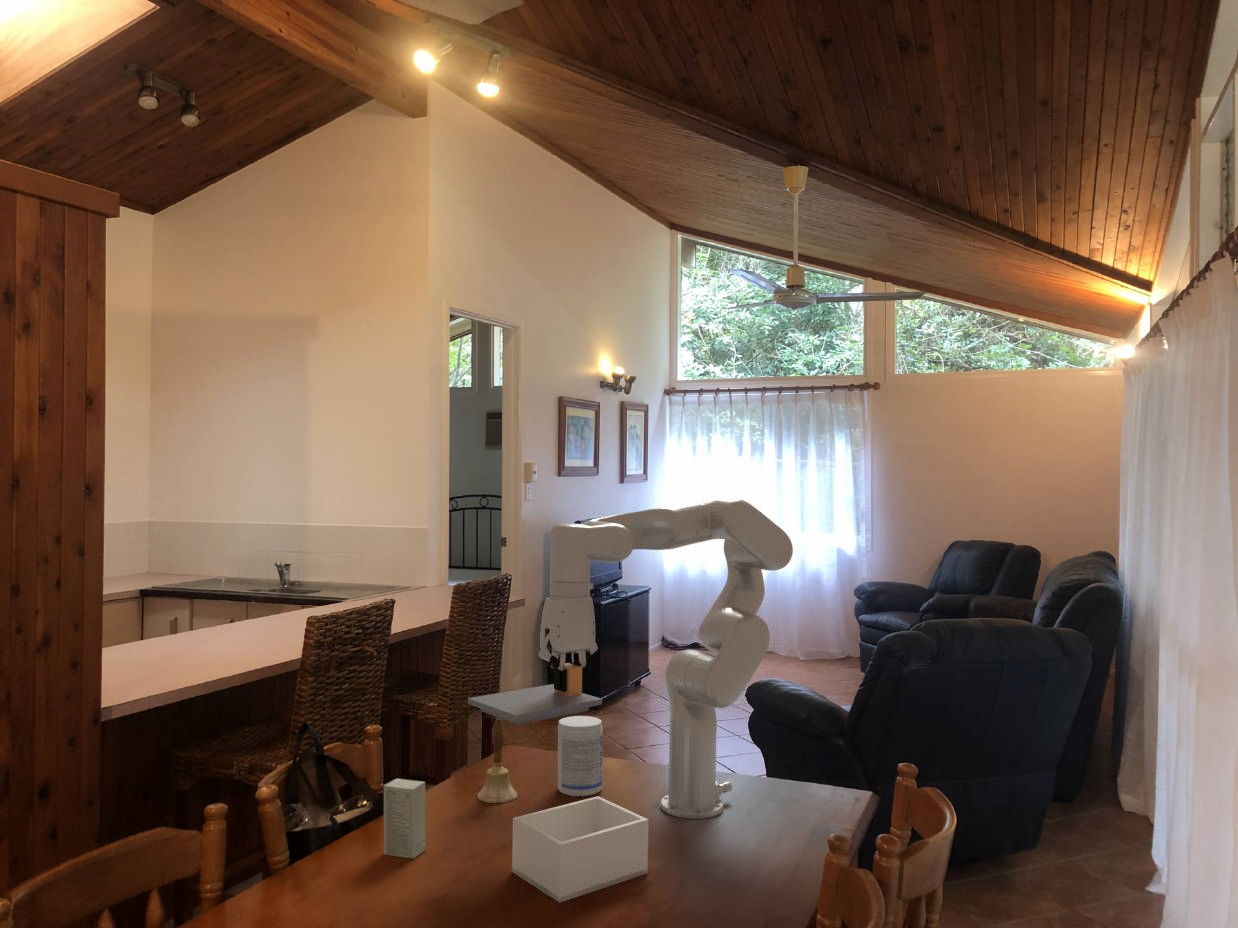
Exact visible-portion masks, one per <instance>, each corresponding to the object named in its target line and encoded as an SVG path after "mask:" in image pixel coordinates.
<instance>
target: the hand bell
mask: <svg viewBox="0 0 1238 928" xmlns="http://www.w3.org/2000/svg"><path fill="white" fill-rule="evenodd" d="M491 739H492V745H493V763H492V764H493V765H492V767H490V768H489V769H487V770H486V776H485V781H484V783H483V784H484V785H483V787H482V788H481V790H480V791H479V792H478V794H477V795H476V798H477V799H478V800H479V801H481V802H484V803H490V804H501V803H502V804H503V803H508V802H511V801H514V800H515V799H516V798H518V793H517V791H516V790H515V789H514V788H513V786H512V784H511V781H510V777H509V770H508V769H507V768H505V767H504V766H503V764H502V757H503V756H502V754H503V753H502V750H503V745H504V742H505V727H504V724H503V719H501V718H498V717H497V718H495V719H494V724H493V727H492V731H491Z"/></svg>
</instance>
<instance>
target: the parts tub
mask: <svg viewBox="0 0 1238 928" xmlns="http://www.w3.org/2000/svg"><path fill="white" fill-rule="evenodd" d="M511 847H512V853H511V854H512V855H511V859H512V860H511V872H512V873H513V874H515V876H516V875H517V876H518V877H519V878H520V879H522V880H524V881H525V882H527V883H528V884H530V885H531V886H533V887H534V888H536V889H537V890H539V891H541V892H543V893H544V894H546V895H547V896H548V897H550V898H552V899H553V900H555V901H557V902H558V903H559V904H560V903H564V902H566V901H569V900H571V899H572V900H573V899H574V898H578V897H580V896H583V895H587V894H591V893H593V892H596V891H599V890H602V889H604V888H607V887H611V886H614V885H617V884H620V883H623V882H626V881H628V880H632V879H635V878H638V877H641V876H643V875H647V874H648V873H649V871H648V870H649V868H648V866H649V819H648V818H647V817H644V816H641V815H640V814H638V813H635V812H633V811H630V810H629V809H627V808H624V807H622V806H620V805H618V804H616V803H614V802H611V801H609V800H608V799H605V798H603V797H601V796H595V797H594V796H592V797H590V798H586V799H582V800H581V799H580V800H578V801H573V802H570V803H567V804H563V805H558V806H555V807H550V808H547V809H546V808H545V809H542V810H540V811H535V812H532V813H531V812H529V813H527V814H523V815H520V816H515V817H513V818H512V846H511Z"/></svg>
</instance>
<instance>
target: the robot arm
mask: <svg viewBox="0 0 1238 928" xmlns="http://www.w3.org/2000/svg"><path fill="white" fill-rule="evenodd" d="M717 539H718V540H724V541H723V552H724V556H725V562H726V567H727V578H726V582H725V584H724V586H723V587H722V590H721V592H720V594H719V595H718V596H717V598H716V599H715V601H714V603H713V604H712V606H711V608H710V609H709V610H708V612H707V613H706V615H705V616H704V619H703V620H702V621H701V624H700V626H699V629H698V639H699V642H700V644H701V645H702V646H703V647H704V648H705V649H707V650H708V651H711V652H713V653H715V654H716V655H713V654H710V653H707V652H704V651H700V650H695V649H683V650H680V651H678V652H677V653H675V654H674V655H672V657H671V658H670V660H669V661H668V662H667V664H666V670H665V683H666V691H667V697H668V704H669V705H668V706H669V730H668V731H669V733H668V734H669V738H668V739H669V742H668V743H669V745H668V749H669V750H668V794H667V795H665V796H663V797H662V798H661V800H660V808H661V810H662V811H663V812H665V813H666V814H669V815H671V816H673V817H677V818H683V819H693V820H695V819H697V820H700V819H708V818H713V817H716V816H718V815H720V814H721V813H723V810H724V802H723V801H722V800H721V799H720V796H721V795H722V794H725V793H728V792H731V791H732V790H733V786H732V783H731V782H730V781H726V782H723V783H720V784H719V783H718V781H717V780H716V778H717V774H716V773H717V731H718V729H717V728H718V725H717V724H718V723H717V722H718V721H717V720H718V719H717V713H716V709H715V708H717V709H724V708H728V707H730V706H732V705H734V703H736V702H737V701H738V699H740V697H741V695H742V693H743V692H744V691H745V690H746V688H747V686H748V685H749V682H750V681H751V680H752V678H753V677H754V674H755V673H756V671H757V669H759V667H760V665H761V662H762V661H763V659H764V657H765V656H766V654H767V652H768V648H769V644H770V639H771V638H770V629H769V626H768V624H767V622H766V621H765V620H764V618H762V617H761V616H759V615H758V614H757V613H758V611H759V610H760V607H761V606H762V604H763V602H764V597H765V593H766V592H765V581H764V575H763V571H762V570H764V571H779V570H782V569H784V568H785V567H787V565H789V563H790V562H791V560H792V557H793V553H794V550H793V549H794V547H793V543H792V540H791V539H790V537H789V535H788V534H787V532H785V531H784V530H783V529H782V528H781V527H780V526H779V525H778V524H776V523H775V522H774V521H772V520H771V519H770V518H768V516H766V515H765V514H764V513H763V512H761V510H759V509H757V507H755V506H754V505H752V504H751V503H749V502H748V501H745V500H744V499H741V498H737V497H721V496H719V497H718V496H717V497H715V496H714V497H707V498H702V499H696V500H691V501H687V502H683V503H679V504H673V505H667V506H663V507H655V508H649V509H645V510H639V511H634V512H626V513H619V514H614V515H609V516H604V517H599V518H598V517H597V518H593V519H590V520H586V521H584V522H582V523H558V524H554V526H552V528H551V530H550V547H549V548H550V549H549V550H550V551H549V552H550V553H549V597H546V598H545V599H544V603H543V608H542V614H541V621H540V633H539V647H540V648H539V652H538V654H537V655H538V657H539V658H541V659H543V660H545V661H546V662H548V664H549V665H550V668H552V669H553V683H552V684H554V689H555V690H558V691H561V692H566V690H567V670H565V669H564V668H565V663H566V657H567V653H568V654H569V653H571V661H572V662H571V664H574V665H577V666H581V667H582V684H583V683H584V682H583V680H584V676H583V675H584V668H585V667H586V665H587V661H588V660H589V659H590V657H591V655H593V654H594V653H595V652H597V651H598V649H599V647H598V644H597V642H596V619H595V617H596V616H595V607H594V601H593V597H592V596H591V590H593V589H594V583H593V582H592V581H591V563H592V562H601V563H609V564H615V563H620V562H622V561H624V560H626V559H627V558H628V557H629V556H630V555H631V554H632V553H633V550H650V551H651V550H653V551H664V550H665V551H666V550H673V549H677V548H678V549H679V548H682V547H687V546H690V545H693V544H694V545H695V544H698V543H703V542H704V543H705V542H708V541H712V540H717ZM550 651H551V652H550Z"/></svg>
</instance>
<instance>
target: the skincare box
mask: <svg viewBox="0 0 1238 928" xmlns="http://www.w3.org/2000/svg"><path fill="white" fill-rule="evenodd" d="M426 806H427V805H426V781H421V780H416V779H415V780H414V779H413V780H412V779H406V778H405V779H404V778H398V777H397V778H395V779H392V780H391V781H389V782H387V783H385V784H383V854H384V855H387V856H392V857H399V858H405V859H413V860H414V859H415V858H416V857H418V856H419V855H420V854H421V853H423V852H424V851H425V850H427V847H426V845H427V844H426V843H427V842H426V837H427V836H426V835H427V834H426V833H427V832H426V825H427V823H426V818H427V817H426V816H427V815H426V810H427V809H426Z"/></svg>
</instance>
